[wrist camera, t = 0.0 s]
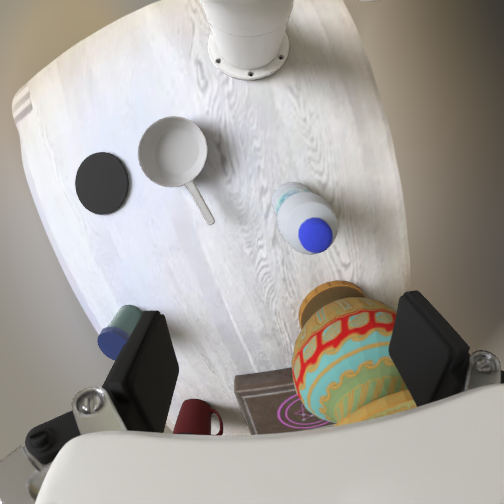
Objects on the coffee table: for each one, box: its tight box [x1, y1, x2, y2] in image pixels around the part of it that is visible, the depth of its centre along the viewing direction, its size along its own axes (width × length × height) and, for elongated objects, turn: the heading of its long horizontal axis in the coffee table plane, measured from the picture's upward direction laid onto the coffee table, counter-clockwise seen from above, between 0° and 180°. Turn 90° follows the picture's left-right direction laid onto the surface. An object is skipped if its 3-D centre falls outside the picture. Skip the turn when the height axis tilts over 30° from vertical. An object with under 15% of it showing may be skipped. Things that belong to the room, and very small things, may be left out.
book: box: [234, 368, 337, 435], centre depth 60 cm, size 30×22×5 cm
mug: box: [173, 399, 223, 435], centre depth 58 cm, size 12×9×11 cm
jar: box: [108, 305, 143, 336], centre depth 49 cm, size 6×6×9 cm
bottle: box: [272, 182, 338, 255], centre depth 36 cm, size 7×7×20 cm
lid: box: [98, 327, 130, 361], centre depth 45 cm, size 7×7×2 cm
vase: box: [292, 281, 417, 427], centre depth 39 cm, size 20×20×30 cm
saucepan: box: [138, 116, 215, 225], centre depth 42 cm, size 11×18×4 cm, turn 28°
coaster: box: [75, 152, 129, 215], centre depth 44 cm, size 11×11×1 cm
